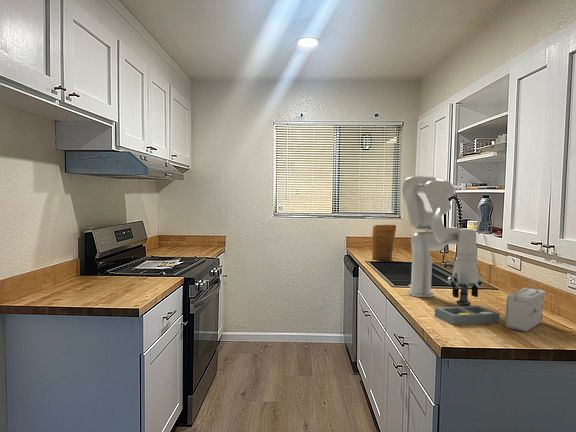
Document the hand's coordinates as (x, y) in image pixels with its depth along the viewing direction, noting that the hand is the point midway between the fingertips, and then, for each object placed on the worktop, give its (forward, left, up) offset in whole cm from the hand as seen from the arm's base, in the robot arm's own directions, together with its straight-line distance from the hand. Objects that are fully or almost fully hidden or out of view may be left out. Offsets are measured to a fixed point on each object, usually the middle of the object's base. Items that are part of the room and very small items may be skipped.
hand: (465, 296), depth 177 cm
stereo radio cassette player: (+22, +10, -6) cm, 25 cm away
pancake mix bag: (-134, +32, -6) cm, 138 cm away
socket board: (+11, -8, -6) cm, 15 cm away
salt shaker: (-1, 0, -6) cm, 6 cm away
